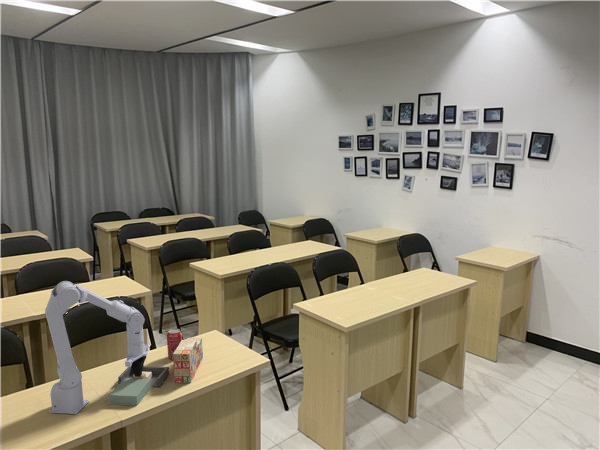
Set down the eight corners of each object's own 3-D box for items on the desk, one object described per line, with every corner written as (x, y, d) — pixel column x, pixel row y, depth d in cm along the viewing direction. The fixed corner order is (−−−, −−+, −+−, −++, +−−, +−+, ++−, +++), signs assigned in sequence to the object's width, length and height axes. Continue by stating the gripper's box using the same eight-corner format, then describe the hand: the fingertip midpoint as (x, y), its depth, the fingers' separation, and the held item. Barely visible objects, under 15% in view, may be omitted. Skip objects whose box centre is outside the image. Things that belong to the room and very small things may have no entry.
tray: (118, 385, 173) (118, 377, 172) (130, 373, 182) (129, 365, 181) (159, 387, 171) (159, 378, 171) (169, 374, 180) (168, 366, 180)
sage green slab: (109, 404, 160) (109, 395, 160) (125, 386, 172) (125, 377, 171) (137, 405, 159) (136, 396, 159) (151, 387, 171) (150, 378, 170)
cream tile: (141, 371, 178) (142, 376, 179) (137, 376, 174) (137, 381, 175) (151, 371, 178) (152, 376, 178) (147, 377, 174) (147, 381, 174)
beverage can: (176, 352, 200) (175, 326, 198) (186, 356, 196) (184, 330, 194) (165, 358, 195) (163, 331, 193) (174, 362, 191) (172, 335, 189)
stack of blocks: (188, 358, 195) (187, 330, 193) (203, 357, 195) (201, 330, 193) (174, 383, 174) (172, 353, 172) (191, 383, 174) (189, 353, 172)
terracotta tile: (132, 375, 171) (135, 373, 173) (133, 385, 172) (136, 382, 174) (143, 376, 171) (145, 373, 173) (143, 386, 171) (146, 383, 173)
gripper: (137, 350, 161) (140, 386, 164) (154, 333, 175) (156, 366, 178) (118, 349, 162) (121, 385, 164) (136, 333, 176) (138, 366, 178)
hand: (138, 375), depth 171 cm, fingers closed
